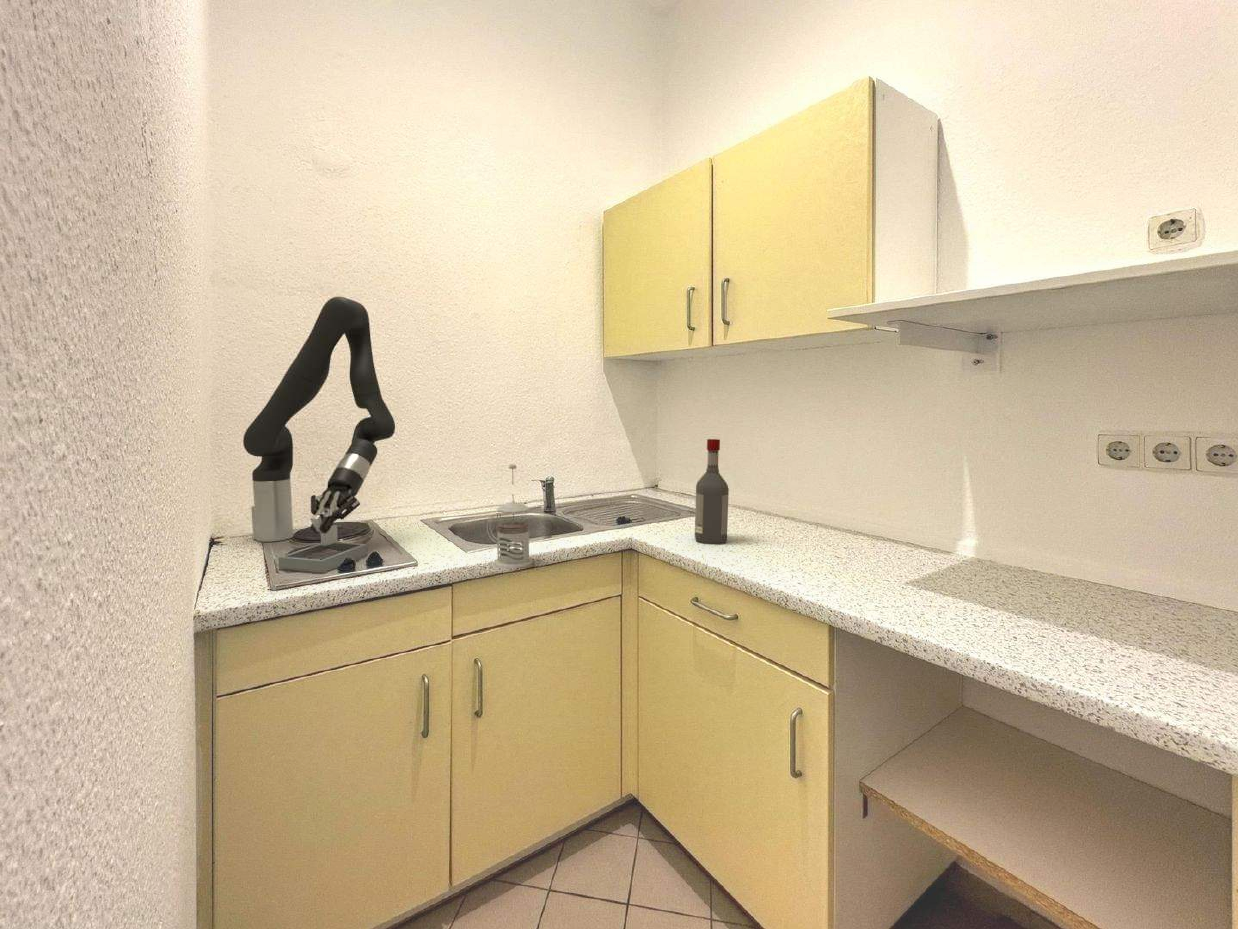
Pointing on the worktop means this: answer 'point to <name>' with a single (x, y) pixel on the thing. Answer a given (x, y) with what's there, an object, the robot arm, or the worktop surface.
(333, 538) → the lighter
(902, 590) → the worktop surface
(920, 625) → the worktop surface
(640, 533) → the worktop surface
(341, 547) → the tray
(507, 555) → the french press
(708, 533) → the liquor
